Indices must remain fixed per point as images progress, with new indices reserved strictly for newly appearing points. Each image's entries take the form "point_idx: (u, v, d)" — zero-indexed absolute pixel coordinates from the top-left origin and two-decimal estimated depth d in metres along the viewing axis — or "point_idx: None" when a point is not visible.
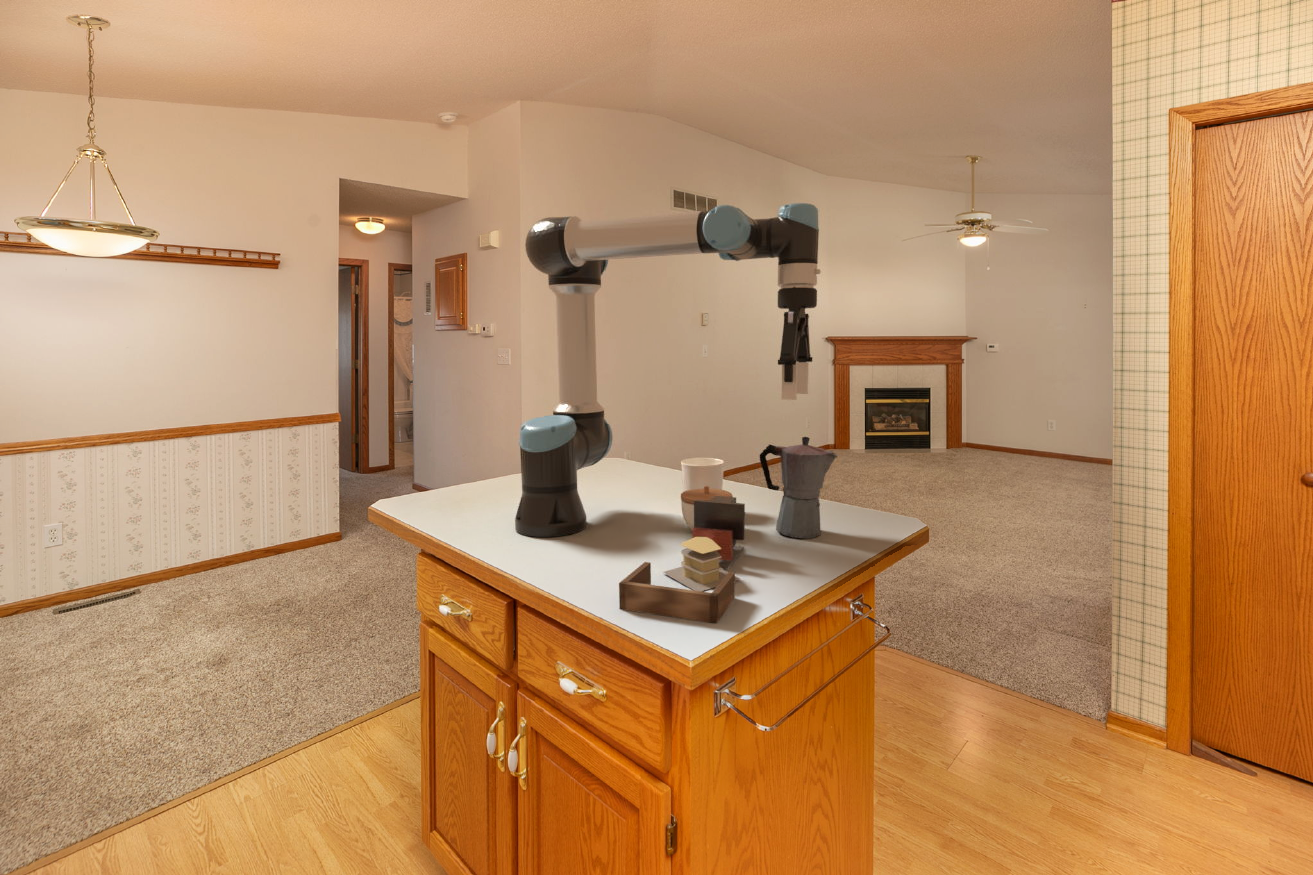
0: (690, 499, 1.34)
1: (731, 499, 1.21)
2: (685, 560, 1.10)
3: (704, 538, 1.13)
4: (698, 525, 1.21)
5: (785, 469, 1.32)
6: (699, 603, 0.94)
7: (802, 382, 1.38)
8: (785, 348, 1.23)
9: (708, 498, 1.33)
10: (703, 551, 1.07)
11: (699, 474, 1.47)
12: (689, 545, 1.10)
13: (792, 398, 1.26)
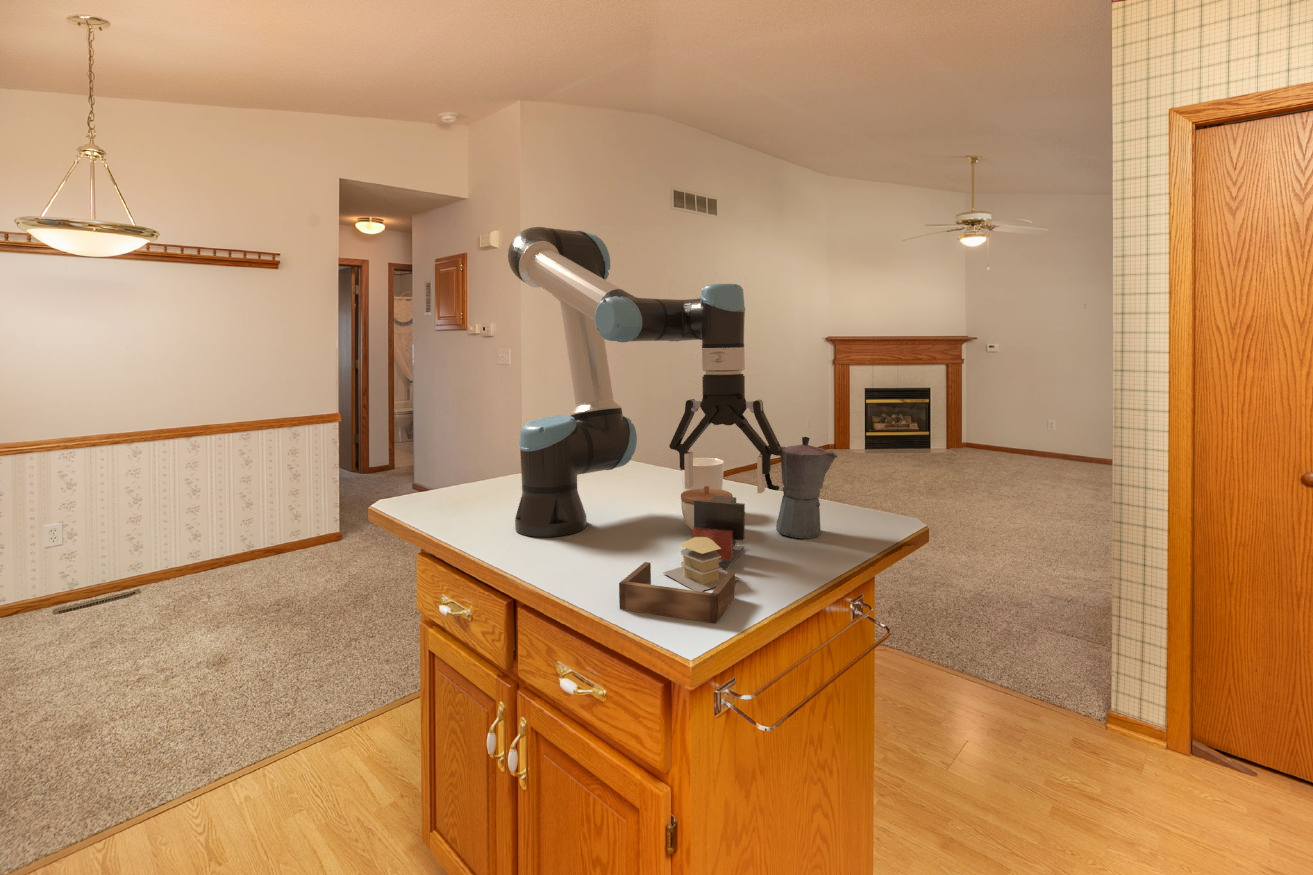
0: (690, 499, 1.34)
1: (731, 499, 1.21)
2: (685, 560, 1.10)
3: (704, 538, 1.13)
4: (698, 525, 1.21)
5: (785, 469, 1.32)
6: (699, 603, 0.94)
7: None
8: None
9: (708, 498, 1.33)
10: (702, 551, 1.07)
11: (699, 474, 1.47)
12: (689, 546, 1.10)
13: None
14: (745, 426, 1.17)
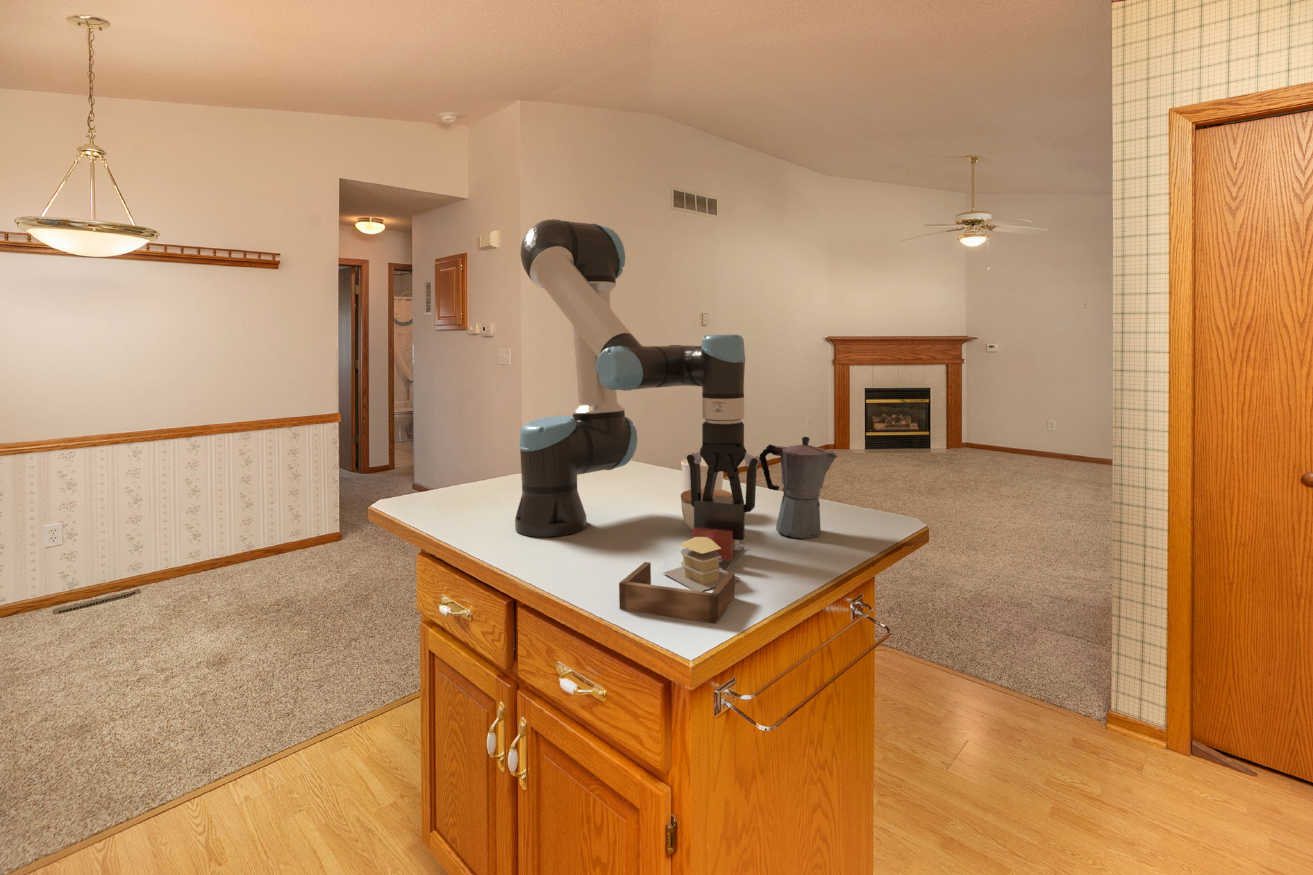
0: (690, 499, 1.34)
1: (731, 499, 1.21)
2: (685, 560, 1.10)
3: (704, 538, 1.13)
4: (698, 525, 1.21)
5: (785, 469, 1.32)
6: (699, 603, 0.94)
7: None
8: None
9: None
10: (702, 551, 1.07)
11: None
12: (689, 546, 1.10)
13: None
14: (734, 479, 1.19)
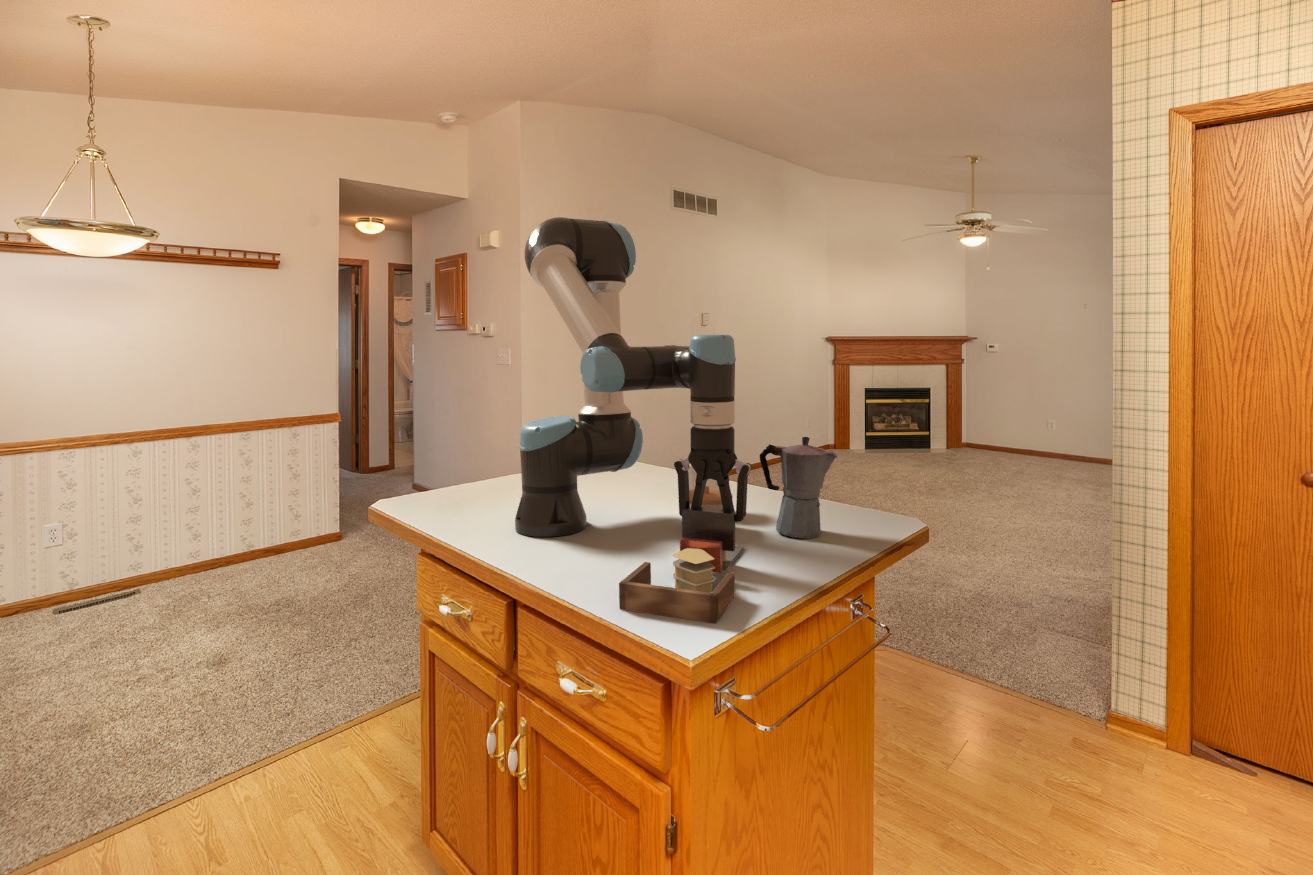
0: (690, 499, 1.34)
1: (721, 508, 1.15)
2: (677, 571, 1.06)
3: (696, 549, 1.09)
4: (686, 535, 1.15)
5: (785, 469, 1.32)
6: (699, 603, 0.94)
7: None
8: None
9: (708, 498, 1.33)
10: (695, 562, 1.03)
11: None
12: (681, 556, 1.06)
13: None
14: (724, 487, 1.13)
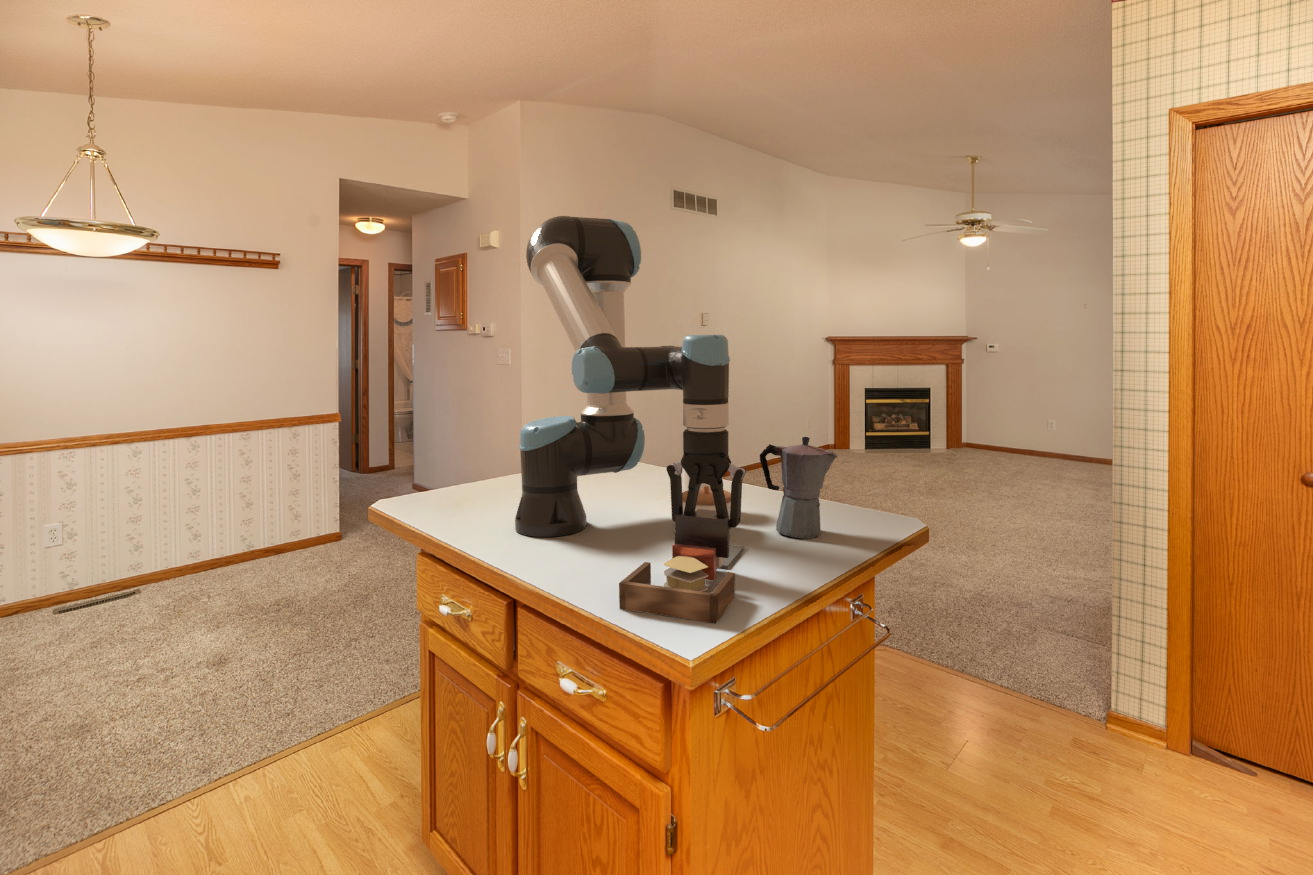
0: None
1: (715, 513, 1.12)
2: (669, 581, 1.02)
3: (686, 557, 1.06)
4: (679, 541, 1.12)
5: (785, 469, 1.32)
6: (699, 603, 0.94)
7: None
8: None
9: (708, 498, 1.33)
10: (689, 570, 1.00)
11: None
12: (673, 565, 1.02)
13: None
14: (718, 492, 1.10)
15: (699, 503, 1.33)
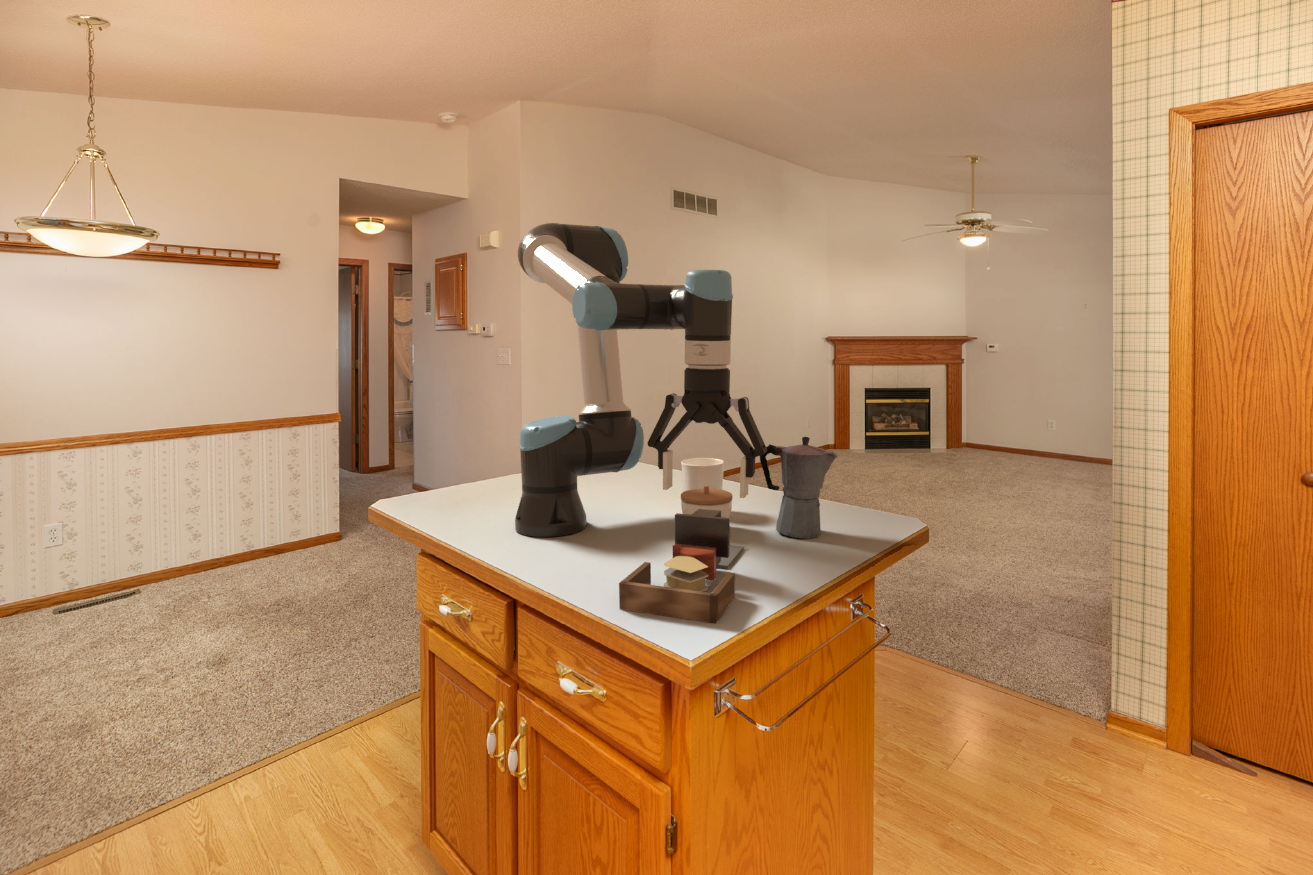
0: (690, 499, 1.34)
1: (715, 513, 1.12)
2: (669, 581, 1.02)
3: (686, 557, 1.06)
4: (679, 541, 1.12)
5: (785, 469, 1.32)
6: (699, 603, 0.94)
7: None
8: None
9: (708, 498, 1.33)
10: (690, 570, 1.00)
11: (699, 474, 1.47)
12: (673, 565, 1.02)
13: None
14: (729, 425, 1.08)
15: (699, 503, 1.33)
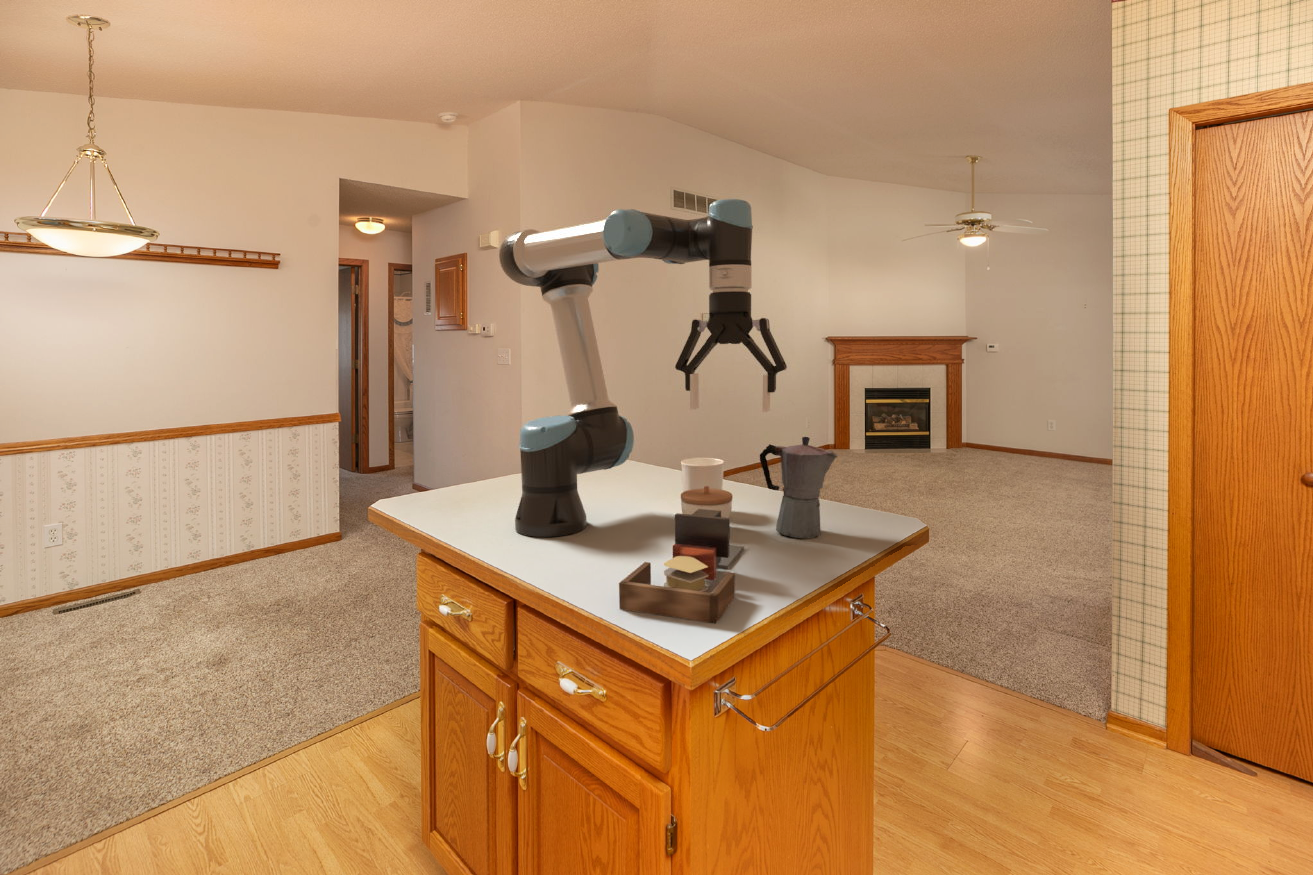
0: (690, 499, 1.34)
1: (715, 513, 1.12)
2: (669, 581, 1.02)
3: (686, 557, 1.06)
4: (679, 541, 1.12)
5: (785, 469, 1.32)
6: (699, 603, 0.94)
7: None
8: None
9: (708, 498, 1.33)
10: (689, 570, 1.00)
11: (699, 474, 1.47)
12: (673, 565, 1.02)
13: None
14: (751, 344, 1.17)
15: (699, 503, 1.33)
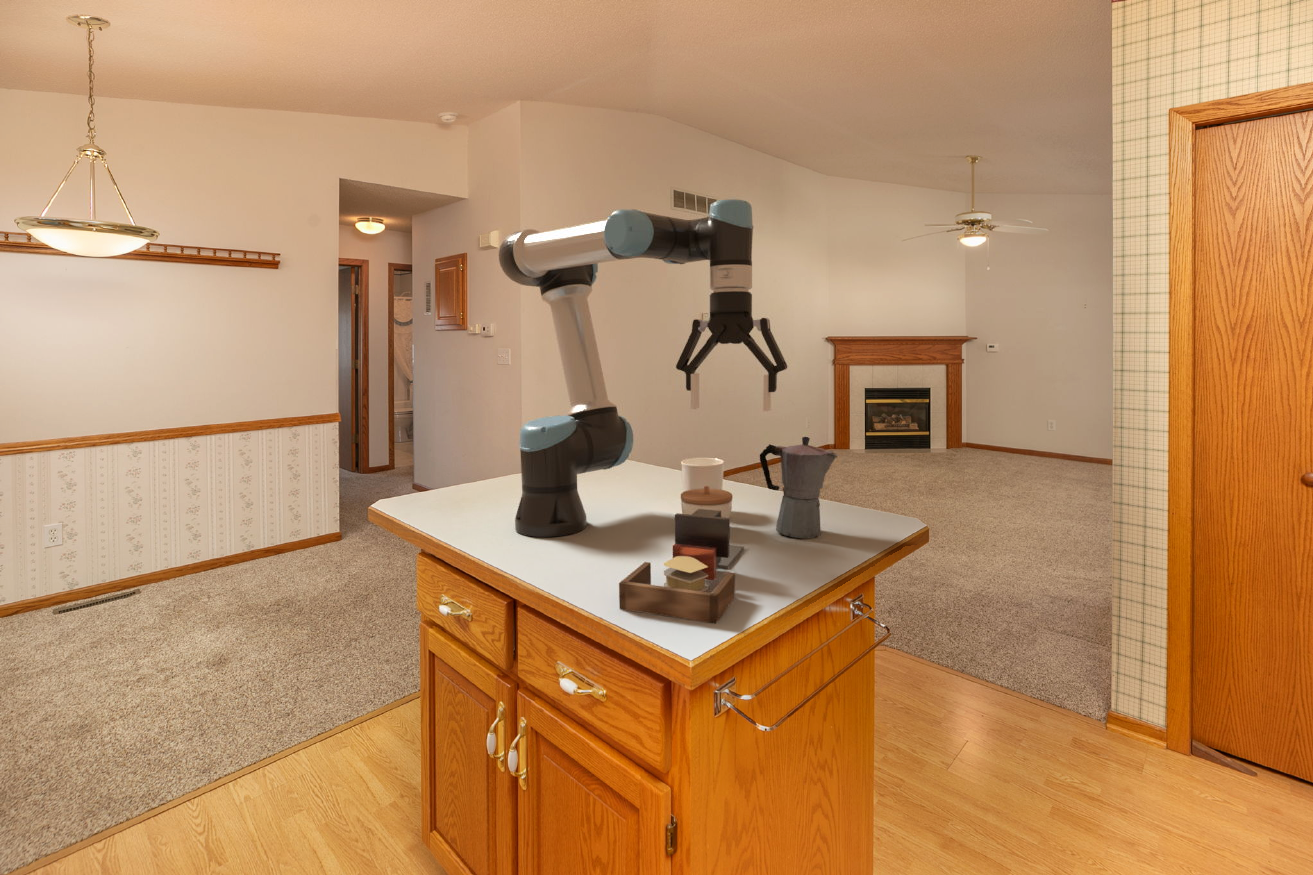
0: (690, 499, 1.34)
1: (715, 513, 1.12)
2: (669, 581, 1.02)
3: (686, 557, 1.06)
4: (679, 541, 1.12)
5: (785, 469, 1.32)
6: (699, 603, 0.94)
7: None
8: None
9: (708, 498, 1.33)
10: (689, 570, 1.00)
11: (699, 474, 1.47)
12: (673, 565, 1.02)
13: None
14: (752, 344, 1.18)
15: (699, 503, 1.33)
